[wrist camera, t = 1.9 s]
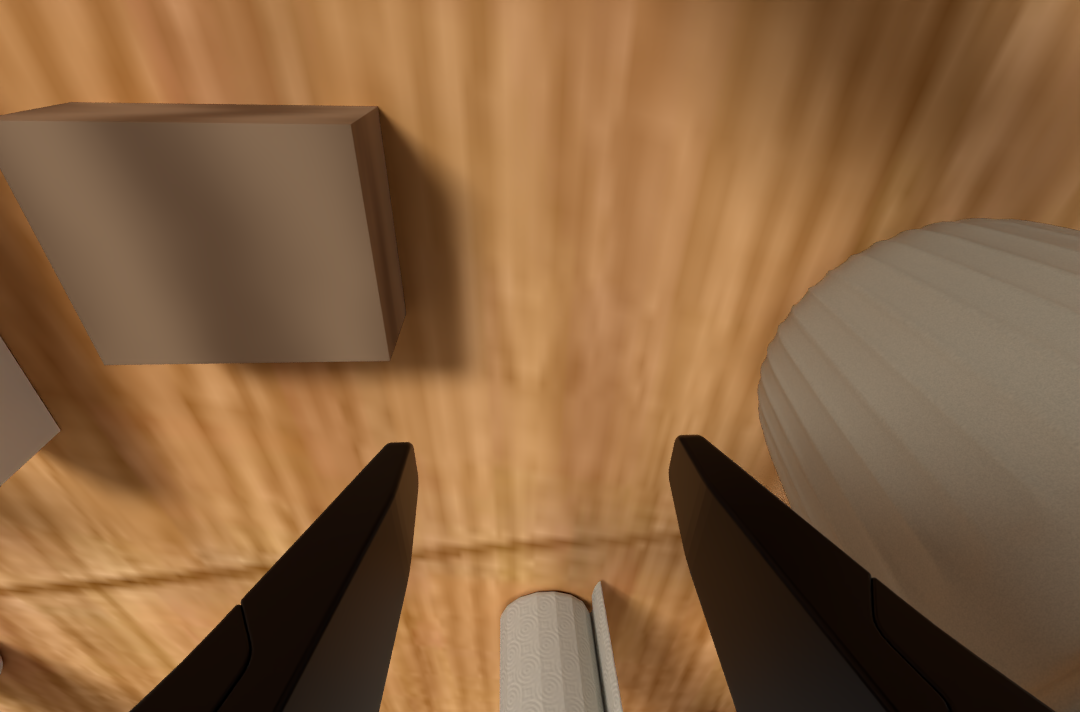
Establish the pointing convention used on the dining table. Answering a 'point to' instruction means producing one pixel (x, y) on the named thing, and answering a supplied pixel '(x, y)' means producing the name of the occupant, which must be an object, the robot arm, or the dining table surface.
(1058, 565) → the canister
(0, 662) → the supplement bottle
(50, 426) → the plank
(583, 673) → the paper towel roll
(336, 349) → the walnut block
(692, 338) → the dining table surface
